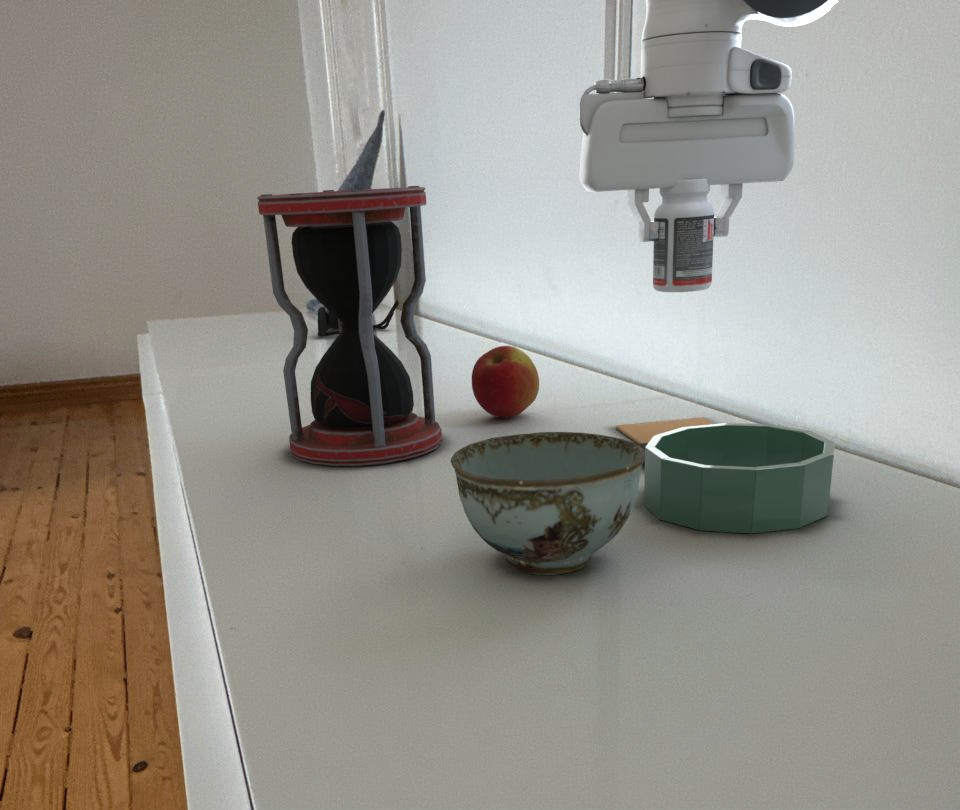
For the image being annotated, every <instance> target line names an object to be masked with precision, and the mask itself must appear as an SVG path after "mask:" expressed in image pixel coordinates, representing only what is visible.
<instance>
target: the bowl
mask: <svg viewBox="0 0 960 810" xmlns="http://www.w3.org/2000/svg"><path fill="white" fill-rule="evenodd" d="M637 444H638V443H636V442H633V441H629V440H628V439H624V438H620V437H619V438H618V437H615V436H610V435H605V434H599V433H598V434H596V433H587V432H575V431H574V432H573V431H542V432H540V431H538V432H531V433H530V432H529V433H517V434H512V435H501V436H496V437H495V436H494V437H490V438H486V439H483V440H479V441H476V442H472V443H470V444H468V445H465V446H464V447H463V446H462V447H461V448H459V449H458V450H456V452H454V453H453V454H452V455H451V458H450V464H451V466H452V468H453V469H454V473H455V477H456V485H457V490H458V495H459V499H460V503H461V505H462V508H463V511H464V513H465V516H466V518H467V520H468V522H469V524H470V525H471V526H472V528H473V530H474V531H475V533H476V534H477V535H478V536H479V537H480V538H481V540H483V542H485V543H486V544H487V545H488V546H490V547H491V548H492V549H494V550H495V551H497V552H499V553H501V554H502V555H505V559H506V560H505V561H506V563H507V564H508V565H509V566H510V567H511V568H513V569H514V570H515V571H518V572H521V573H526V574H530V575H539V576H540V575H541V576H554V575H555V576H556V575H563V574H571V573H574V572H577V571H579V570H582V569H583V568H584V567H586V566H587V565H588V564H589V562H591V559H592V555H593V553H595V552H597V551H598V550H600V549H602V548H603V547H604V546H605V545H607V544H608V543H610V542H611V541H612V540H613V539H614V538H615V537H616V536H617V535H618V534H619V533H620V532H621V530H622V529H623V527H624V526H625V524H626V523H627V521H628V520H629V518H630V516H631V513H632V511H633V510H634V506H635V503H636V500H637V498H638V492H639V487H640V481H641V473H642V467H643V464H644V463H643V461H644V459H645V455H646V454H645V451H644V450H643V449H642V448H641V447H640V446H639V445H637Z"/></svg>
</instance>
